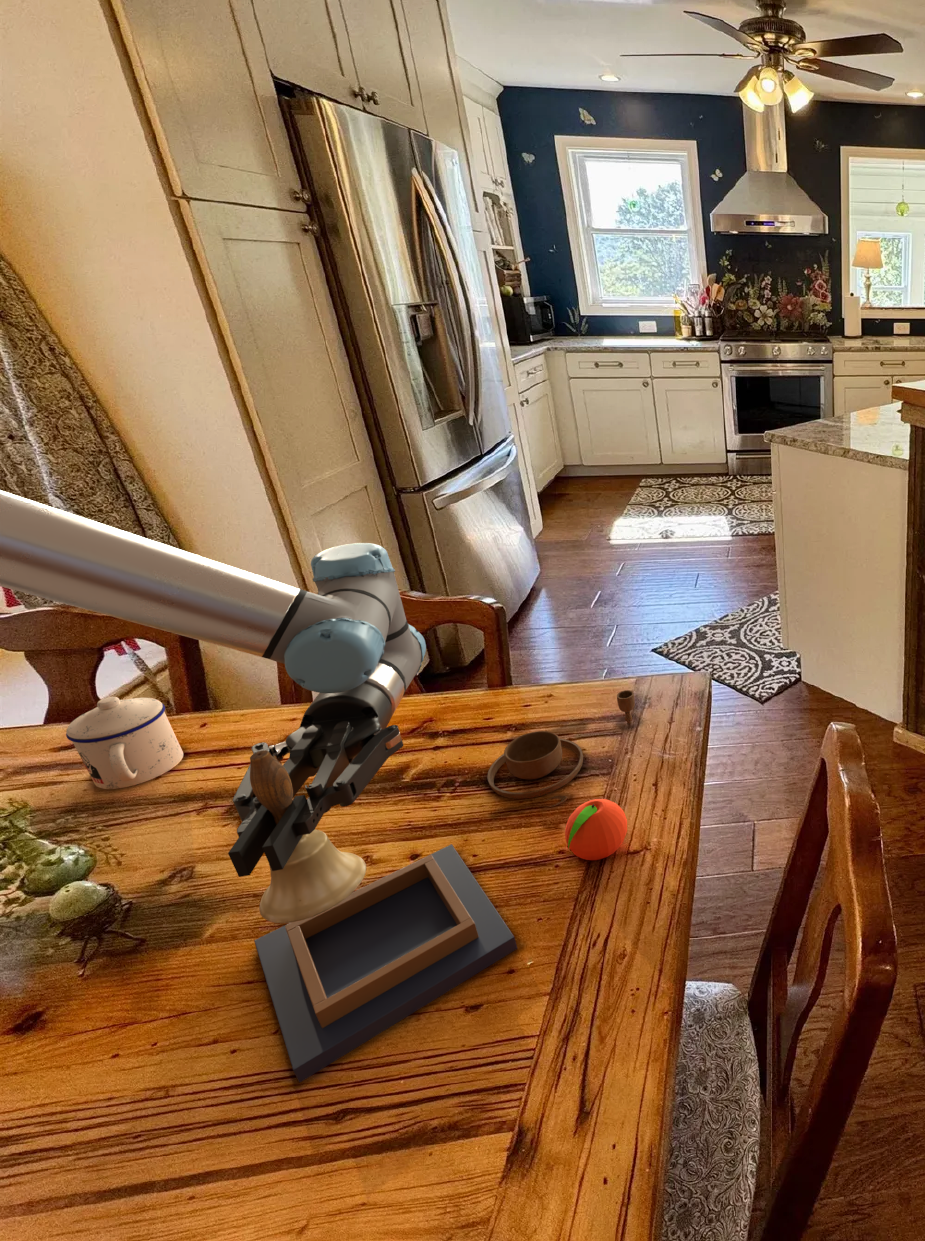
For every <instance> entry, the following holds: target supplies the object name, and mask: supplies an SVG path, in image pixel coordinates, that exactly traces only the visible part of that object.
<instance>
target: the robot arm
mask: <svg viewBox="0 0 925 1241" xmlns="http://www.w3.org/2000/svg"><path fill="white" fill-rule="evenodd" d="M388 553H389V552H388V551H387V549H386V548H384V546H382V545H379V544H376V543H371V542H354V543H346V544H340V545H336V546H332V547H329V548H327V549H324V550H322V551H319V552H318V553H316V554H315V555H314V556H313V557H312V558H311V560H310V567H311V572H312V575H313V578H312V582H313V583H314V584H315V586H316V589H317V593H314V592H311V591H308V590H305V589H301V588H298V587H296V586H293V585H289V584H287V583H284V582H282V581H277V580H275V579H271V578H268V577H265V576H262V575H260V574H256V573H253V572H250V571H247V570H244V569H240V568H238V567H235V566H232V565H229V564H225V563H223V562H219V561H217V560H214V559H210V558H208V557H205V556H203V555H202V556H201V555H199V554H195V553H194V552H193V553H192V552H189V551H186V550H183V549H180V548H177V547H174V546H171V545H168V544H165V543H163V542H159V541H156V540H153V539H150V538H147V537H144V536H141V535H138V534H135V533H132V532H130V531H126V530H122V529H120V528H116V527H114V526H110V525H108V524H105V523H101V522H98V521H96V520H93V519H89V518H87V517H84V516H80V515H78V514H74V513H71V512H68V511H65V510H63V509H59V508H56V507H53V506H50V505H47V504H44V503H40V502H38V501H35V500H32V499H28V498H25V497H23V496H19V495H17V494H13V493H10V492H8V491H5V490H1V489H0V587H2V588H5V589H9V590H12V591H16V592H20V593H24V594H27V595H31V596H34V597H38V598H43V599H45V600H49V601H52V602H53V601H54V602H56V603H61V604H64V605H67V606H71V607H75V608H79V609H83V610H86V611H91V612H93V613H97V614H101V615H104V616H109V617H113V618H117V619H119V620H123V621H127V622H131V623H135V624H137V625H142V626H145V627H149V628H153V629H156V630H160V631H165V632H167V633H172V634H175V635H179V636H182V637H186V638H190V639H193V640H197V641H201V642H204V643H208V644H213V645H216V646H219V647H223V648H227V649H231V650H235V651H238V652H242V653H245V654H248V655H252V656H257V657H260V658H263V659H267V660H270V661H273V662H277V663H280V664H284V668H285V671H286V673H287V675H288V676H289V678H290V679H292V681H294V682H295V684H298V685H299V686H301V688H303V689H305V690H308V691H310V692H314V693H318V694H317V695H316V697H315V698H314V699H313V700H312V701H311V703H310V704H309V706H308V707H307V708H306V710H305V711H304V713H303V716H302V719H301V722H300V725H299V726H298V727H299V728H297V729H296V730H295V731H293V732H292V733H290V734H288V736H287V737H286V739H285V741H282V742H279V743H276V744H273V745H269V746H268V743H267V742H265V741H264V742H258V743H255V744H254V745H252V746H251V751H252V755H253V754H254V753H256V752H258V751H262V750H267V751H268V752H269V753H270V754H271V755H272V756H273V757H274V758H275V759H276V760H277V761H278V762H279V763H281V764H282V761H283V760H284V758H285V756H287V755H289V757H288V759H287V760H286V761H285V762H284V763H283V764H282V765H283V767H284V768H285V769H286V771H287V772H288V775H289V777H290V780H291V783H292V788H293V799H292V800H293V801H292V803H291V804H290V805H289V807H288V808H287V810H286V811H285V813H284V814H283V816H282V818H281V819H280V821H279V822H278V824H277V825H276V823H275V820H274V817H273V815H272V814H271V812H270V811H269V810H268V809H266V808H265V807H264V806H263V805H262V804H261V803H260V802H259V800H258V799H257V797H256V796H255V794H254V792H253V789H252V787H251V783H250V767H251V763H249V766H248V768H247V770H246V772H245V774H244V775H243V778H242V780H241V782H240V784H239V786H238V788H237V790H236V792H235V794H234V796H233V798H232V802H233V805H234V807H235V809H236V812H237V814H238V816H239V818H240V821H241V823H240V824H239V826H238V827H237V829H236V834H237V836H238V838H237V839H236V840H235V842H234V844H233V845H232V847H231V848H230V849H229V851H228V853H227V854H228V856H229V858H230V861H231V863H232V866H233V867H234V869H235V872H236V874H237V876H238V878H242V877H247V876H250V875H251V874H252V872H253V871H254V869H255V868H256V867H257V865H258V863H259V862H260V860H261V859H262V857H263V855H265V858H266V860H267V862H268V866H269V865H270V866H269V868H270V867H271V869H272V871H276V870H282V869H283V868H284V866H285V865H286V863H287V861H288V860H289V858H290V856H291V855H292V853H293V851H294V850H295V848H296V846H297V844H298V843H299V841H300V839H301V838H302V836H303V835H306V834H310V833H311V832H312V831H314V830H316V828H317V827H318V825H319V823H320V821H321V820H322V818H323V816H324V814H326V813H328V812H329V811H330V810H331V809H332V807H334V806H337V805H339V806H340V807H343V808H344V807H348V806H351V805H353V803H355V801H356V800H357V799H358V798H359V797H360V795H361V794H362V792H363V791H364V790H365V788H367V786H368V785H369V783H370V782H371V781H372V779H373V778H374V777H375V776H376V774H377V773H378V772H379V770H380V769H381V768H382V767H383V765H384V764H385V763H386V761H387V760H388V759H389V758H390V757H391V756H392V755H394V754H395V753H396V752H398V751H399V750H400V749H402V748H403V747H404V742H403V738H402V735H401V731H400V729H399V725H397V724H392V725H389V723H390V722H391V720H392V717H393V715H394V714H395V712H396V710H397V708H398V706H399V705H400V703H401V701H402V699H403V697H404V696H405V695H406V694H405V693H406V691H407V689H408V687H409V686H410V684H411V683H412V681H413V679H414V678H415V677H416V676H417V674H418V673H419V672H420V670H421V667H422V663H423V662H424V657H425V656H426V651H427V644H426V640H425V638H424V636H423V634H421V633H420V631H419V630H417V629H416V628H415V627H414V626H413V625H411V624H409V623H408V620H407V617H406V613H405V609H404V605H403V602H402V598H401V595H400V591H399V586H398V582H397V578H396V575H395V572H396V569H395V568H394V567H393V565H392V562H391V558H390V557H389V554H388ZM312 777H314V778H313V780H312V782H311V783H310V784H308V785H306V784H305V783H306V782H307V780H308V779H309V778H312ZM304 784H305V785H304ZM303 785H304V788H305V791H306V794H307V796H308V797H306V795H305V794H302V795H297V793H298V792H299V791H300V789H301V788H302V787H303Z"/></svg>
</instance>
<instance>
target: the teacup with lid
mask: <svg viewBox="0 0 925 1241" xmlns="http://www.w3.org/2000/svg"><path fill="white" fill-rule="evenodd" d="M165 711H166V706H165V704H164V703H162V702H161V701H160V700H159V699H156V698H152V697H134V698H133V697H132V698H127V699H120V698H119V697H117V696H107V697H103V698H101V699H100V700H98V701H97V703H96V707H95V708H92V709H91V710H89V711H87V712H85V713H82V714H81V715H79V716H78V717H76V718H75V719H73V720H72V721H71V722H70V724H68V726H67V728H66V731H65V736H66V738H67V740H69V741H70V742H72V744H73V746H74V748H75V749H76V752H77V753H78V756H79V757H80V759H81V761H82V763H83V765H84V767H85V768H86V770H87V772H88V774H89V776H90V778H91V780H92V781H93V784H94V785H95V786H96V787H97V788H99V789H104V790H115V789H122V788H123V789H124V788H127V787H131V786H136V785H139V784H143V783H146V782H148V781H150V780H153V779H155V778H157V777H160V776H162V775H163V774H166V773H168V772H169V771H170V770H172V769H173V768H175V767H176V766H177V765H178V764H179V763H180V762H181V761H182V760H183V758H184V751H183V749H182V747H181V745H180V742H179V740H178V739H177V736H176V734H175V732H174V730H173V727H172V725H171V723H170V720H169V719H168V716H167V714H166V712H165Z"/></svg>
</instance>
